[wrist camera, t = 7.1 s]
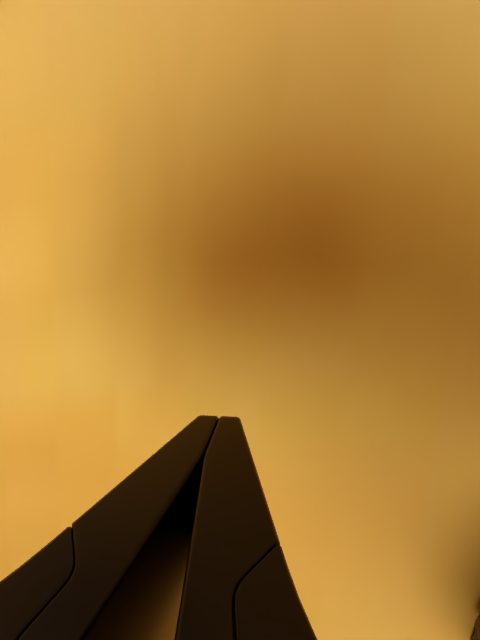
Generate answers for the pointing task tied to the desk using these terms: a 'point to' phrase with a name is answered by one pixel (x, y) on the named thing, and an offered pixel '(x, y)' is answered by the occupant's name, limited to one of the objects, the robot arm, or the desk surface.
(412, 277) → the desk surface
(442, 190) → the desk surface
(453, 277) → the desk surface
